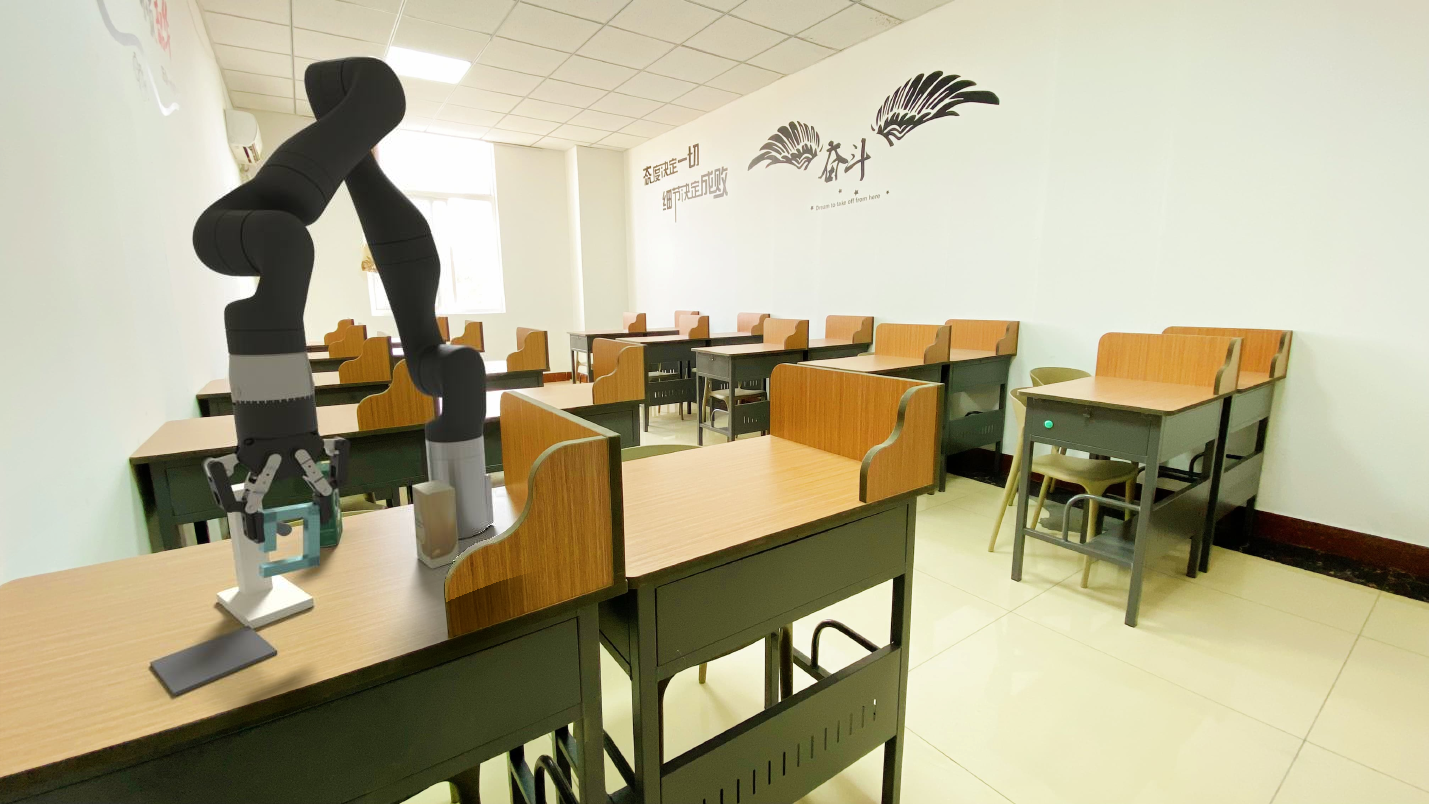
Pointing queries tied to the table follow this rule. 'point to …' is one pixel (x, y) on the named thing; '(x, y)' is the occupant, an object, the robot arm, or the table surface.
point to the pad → (211, 659)
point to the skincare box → (435, 523)
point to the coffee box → (334, 528)
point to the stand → (258, 579)
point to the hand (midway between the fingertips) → (291, 532)
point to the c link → (310, 538)
